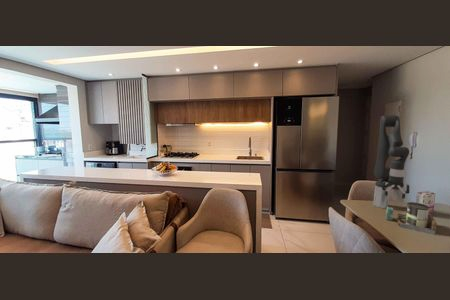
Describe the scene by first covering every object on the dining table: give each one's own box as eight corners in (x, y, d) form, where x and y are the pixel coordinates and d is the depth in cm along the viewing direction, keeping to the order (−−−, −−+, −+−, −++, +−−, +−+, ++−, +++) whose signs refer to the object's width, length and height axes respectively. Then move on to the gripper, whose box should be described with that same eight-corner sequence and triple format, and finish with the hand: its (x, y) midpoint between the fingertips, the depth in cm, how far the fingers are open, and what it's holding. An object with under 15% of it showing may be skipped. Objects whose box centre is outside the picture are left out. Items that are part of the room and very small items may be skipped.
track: (399, 226, 127) (400, 223, 127) (396, 216, 141) (396, 212, 141) (434, 234, 117) (435, 231, 117) (427, 222, 132) (427, 218, 132)
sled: (387, 222, 132) (388, 211, 131) (385, 214, 144) (386, 204, 143) (435, 233, 118) (436, 221, 117) (428, 222, 130) (430, 211, 129)
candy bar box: (425, 210, 149) (427, 190, 147) (433, 213, 144) (436, 193, 142) (414, 212, 147) (416, 192, 145) (422, 215, 142) (424, 194, 140)
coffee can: (405, 225, 129) (407, 205, 127) (405, 219, 136) (407, 201, 134) (427, 230, 122) (429, 210, 120) (426, 224, 129) (429, 205, 127)
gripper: (383, 174, 134) (381, 196, 136) (411, 177, 125) (409, 201, 127) (383, 172, 140) (381, 193, 142) (409, 175, 131) (407, 197, 133)
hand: (394, 197), depth 134 cm, fingers open, 8 cm apart
